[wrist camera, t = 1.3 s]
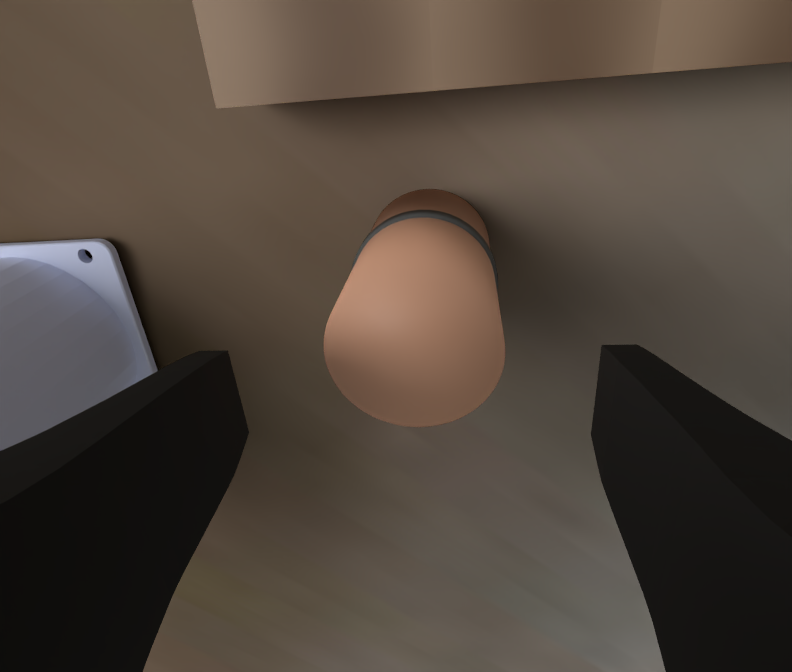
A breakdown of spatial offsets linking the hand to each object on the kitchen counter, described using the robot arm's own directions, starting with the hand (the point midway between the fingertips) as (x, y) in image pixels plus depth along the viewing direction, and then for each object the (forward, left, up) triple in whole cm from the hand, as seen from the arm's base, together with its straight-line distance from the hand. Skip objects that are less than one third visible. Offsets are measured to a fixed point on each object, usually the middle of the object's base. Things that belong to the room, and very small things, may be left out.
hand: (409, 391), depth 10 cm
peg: (0, 0, -8) cm, 9 cm away
